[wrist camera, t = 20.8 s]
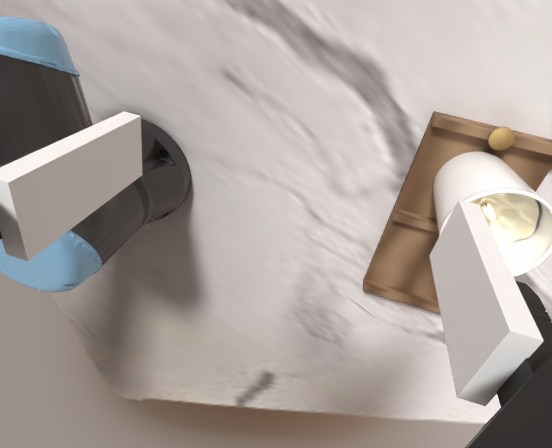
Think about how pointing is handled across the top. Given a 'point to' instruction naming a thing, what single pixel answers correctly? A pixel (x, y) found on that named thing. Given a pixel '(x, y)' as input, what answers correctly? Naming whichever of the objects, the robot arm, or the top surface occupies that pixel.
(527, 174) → the brown wooden flat tray
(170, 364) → the top surface
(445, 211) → the candle holder
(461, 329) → the robot arm
